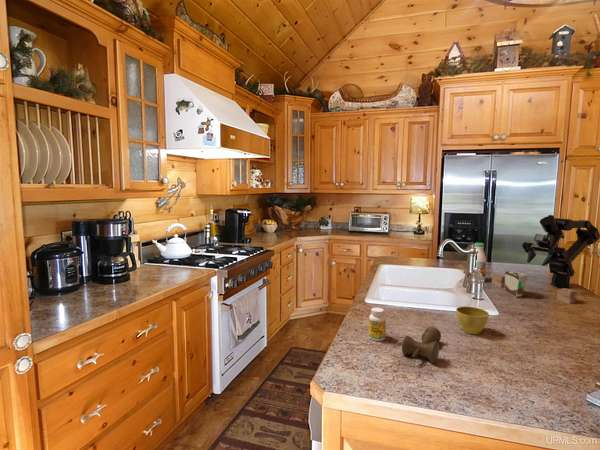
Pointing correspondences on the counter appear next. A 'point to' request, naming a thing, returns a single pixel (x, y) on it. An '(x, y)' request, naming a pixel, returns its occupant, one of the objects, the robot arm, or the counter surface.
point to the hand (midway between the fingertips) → (535, 263)
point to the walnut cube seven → (566, 295)
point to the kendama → (423, 345)
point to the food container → (515, 283)
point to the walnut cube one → (498, 280)
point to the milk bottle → (481, 258)
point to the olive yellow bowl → (472, 319)
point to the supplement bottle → (377, 324)
